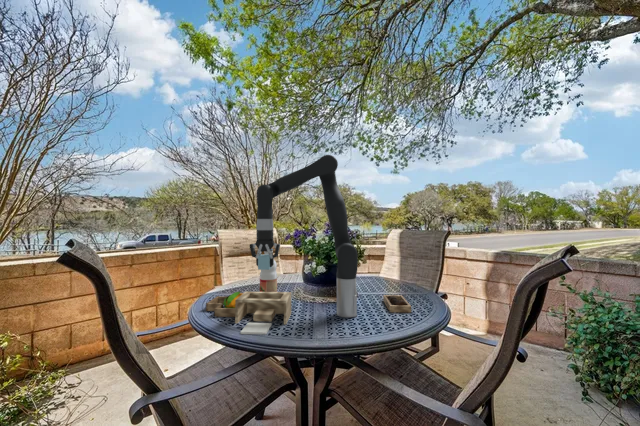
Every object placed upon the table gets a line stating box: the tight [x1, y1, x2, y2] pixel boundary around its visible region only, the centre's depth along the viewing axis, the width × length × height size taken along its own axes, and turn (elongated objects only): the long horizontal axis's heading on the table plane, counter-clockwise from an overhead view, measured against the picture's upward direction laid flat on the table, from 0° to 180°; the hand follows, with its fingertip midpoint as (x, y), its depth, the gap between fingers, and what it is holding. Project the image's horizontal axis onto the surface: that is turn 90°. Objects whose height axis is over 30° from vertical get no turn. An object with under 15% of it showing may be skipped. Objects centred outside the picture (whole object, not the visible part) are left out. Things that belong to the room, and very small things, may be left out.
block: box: [257, 254, 272, 271], centre depth 129 cm, size 5×5×6 cm
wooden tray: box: [383, 294, 412, 313], centre depth 147 cm, size 10×19×3 cm, turn 177°
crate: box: [234, 291, 292, 325], centre depth 129 cm, size 22×14×10 cm, turn 87°
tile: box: [240, 322, 273, 336], centre depth 116 cm, size 10×10×1 cm
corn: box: [223, 291, 244, 308], centre depth 146 cm, size 7×8×20 cm
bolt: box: [387, 296, 408, 306], centre depth 146 cm, size 6×5×15 cm
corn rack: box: [205, 295, 235, 318], centre depth 145 cm, size 28×28×4 cm
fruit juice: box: [259, 248, 278, 292], centre depth 158 cm, size 9×9×28 cm
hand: (264, 266), depth 129 cm, fingers closed on block, 5 cm apart
